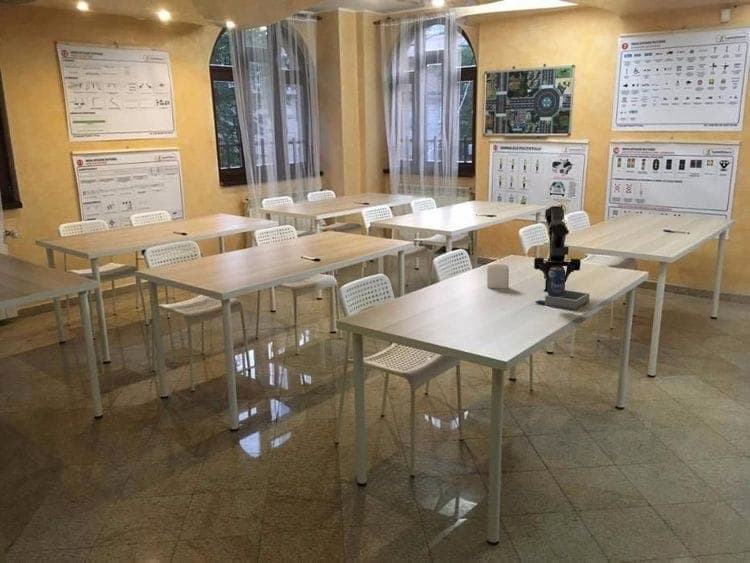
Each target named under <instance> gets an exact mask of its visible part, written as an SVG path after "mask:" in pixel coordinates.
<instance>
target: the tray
mask: <svg viewBox="0 0 750 563" xmlns="http://www.w3.org/2000/svg"><path fill="white" fill-rule="evenodd" d="M589 303H590V293H587V292H581V291H575V290H567V289H565V293H564V295H563V296H562V297H559V298H554V297H550V296H549V295H548V294H546V295H544V305H545V306H548V305H549V307H555V308H559V307H560V308H561V309H565V308H567V310H570V311H571V310H572V311H578V310H579V309H581V308H583V307H584V306H586V305H587V304H589Z"/></svg>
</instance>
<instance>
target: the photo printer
mask: <svg viewBox="0 0 750 563" xmlns="http://www.w3.org/2000/svg"><path fill="white" fill-rule="evenodd" d="M486 269H487V270H486V273H487V274H486V287H487V288H488V289H507V290H508V289H509V287H510V285H509V282H510V281H509V278H510V277H509V274H510V270H509V265H508V264H507V263H504V262H492V263H491V262H490V263H488V264H487V268H486Z"/></svg>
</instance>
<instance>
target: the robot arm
mask: <svg viewBox="0 0 750 563" xmlns="http://www.w3.org/2000/svg"><path fill="white" fill-rule="evenodd" d="M564 218H565V209H563V208H562V206H561V205H552V206H549V208H547V209H545V211H544V220H545V224H546V225H547V227H548V228H547V235H549V250H548V251H549V253H548V254H549V257H548V258H547V260H546V259H545V258H544V257H535V258H533V259H534V260H533V265H534V266H533V268H534V270H539V271H540V272H542V273H543V279H545V281H544V282H545V283H544V284H545V285H544V286H545V288H544V289H543V291H544V292H547V293H548V271H549V270H550V267H555V266H558V267H563V268H564V267H566V269H565V268H564V270H565V272H566V273H565V283H566V282H567V280H568V279H569V276H570V275H571V273H574V272H576V271H580V270H581V264H582V263H581V259H580V258H570V261H565V259H566V258H565V257H566V256H568V255H569V248H570V247H569V246H566V244H565V243H566V242H565V241H566V237H567V236H568V234H569V233H570V231H569V229H568V227H567V226H566V224H565V223H566V222H564V221H563V220H564Z"/></svg>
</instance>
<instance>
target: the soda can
mask: <svg viewBox="0 0 750 563" xmlns="http://www.w3.org/2000/svg"><path fill="white" fill-rule="evenodd" d="M564 269H565V267H564V266H563V267H558V266H555V267H550V270H549V271H548V292H547V295H549V296H550V297H554V298H559V297H562V296H563V295H564V293H565V290H566V282H565V275H566V269H565V270H564Z"/></svg>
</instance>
